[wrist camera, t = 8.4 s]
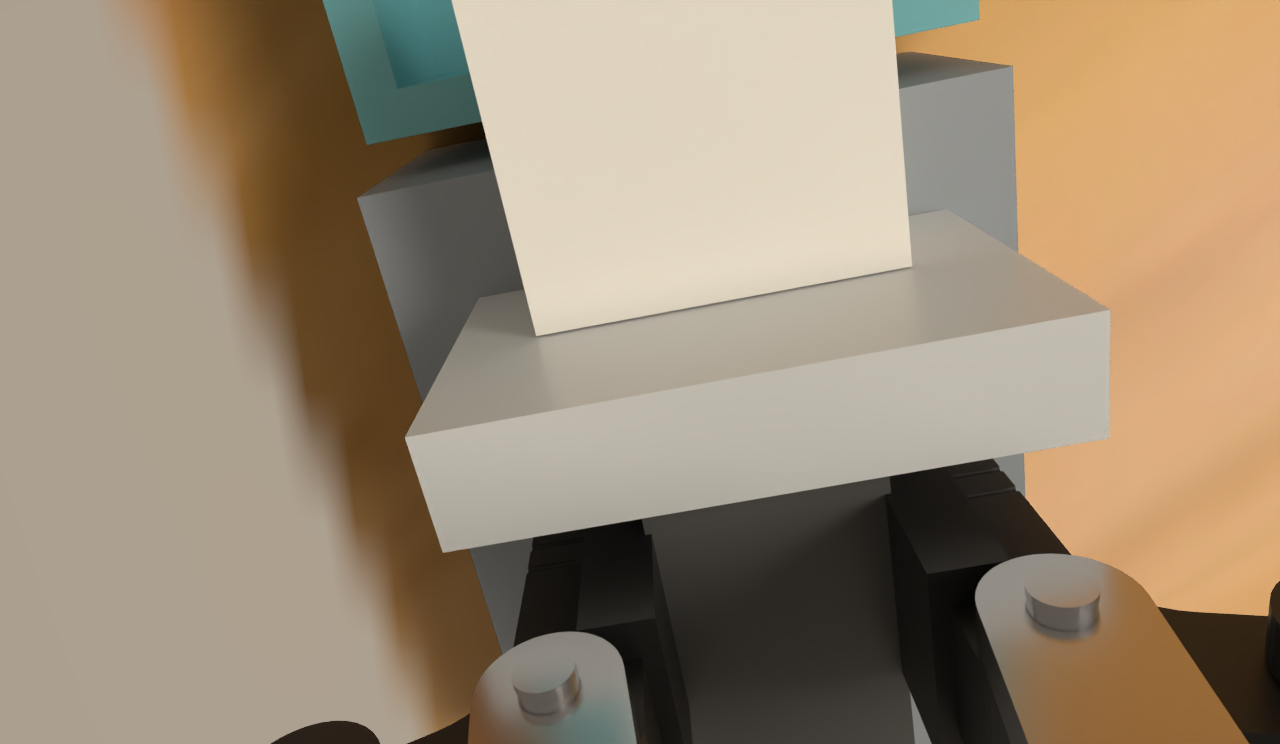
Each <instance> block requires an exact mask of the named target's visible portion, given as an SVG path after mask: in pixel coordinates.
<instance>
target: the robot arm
mask: <svg viewBox="0 0 1280 744" xmlns="http://www.w3.org/2000/svg"><path fill="white" fill-rule="evenodd" d="M890 487H891V493H890V494H885V499H886V510H887V520H888V530H889V540H890V551H891V561H892V571H893V581H894V592H895V602H896V612H897V622H898V633H899V643H900V653H901V664H902V673H903V675H904V678H905V680H906V683H907V685H908V688H909V690H910V692H911V695H912V697H913V700H914V702H915V705H916V707H917V709H918V712H919V714H920V717H921V719H922V722H923V724H924V726H925V729H926V731H927V734H928V736H929V739H930V741H931V743H932V744H1280V581H1279V582H1278V583H1277V584H1276V585H1275V587H1274V589H1273V590H1272V592H1271V597H1270V605H1269V614H1268V616H1254V615H1236V614H1219V613H1201V612H1189V611H1178V610H1172V609H1167V608H1161V607H1157V606H1156V604H1155V603H1154V601H1153V600H1152V598H1151V597H1150V595H1149V594H1148V593H1147V592H1146V591H1145V589H1144V588H1143V587H1142V586H1141V585H1140V584H1139V583H1138V582H1136V581H1135V580H1134V579H1133V578H1131V577H1130V576H1128V575H1127V574H1125V573H1124V572H1122V571H1120V570H1118V569H1116V568H1114V567H1112V566H1110V565H1107V564H1104V563H1102V562H1099V561H1096V560H1092V559H1088V558H1084V557H1080V556H1073V555H1071V554H1070V553H1069V551H1068V550H1067V549H1066V548H1065V547H1064V545H1063V544H1062V543H1061V542H1060V540H1059V539H1058V538H1057V537H1056V535H1055V534H1054V533H1053V532H1052V531H1051V529H1050V528H1049V527H1048V526H1047V524H1046V523H1045V522H1044V521H1043V519H1042V518H1041V517H1040V516H1039V515H1038V513H1037V512H1036V511H1035V510H1034V508H1033V507H1032V506H1031V505H1030V503H1029V502H1028V501H1027V500H1026V499H1025V497H1024V496H1023V495H1022V494H1021V492H1020V491H1016V488H1015V485H1014V484H1013V483H1012V481H1011V480H1010V479H1009V478H1008V476H1007V475H1006V474H1005V473H1004V471H1000V468H999V465H998V464H997V463H996V462H995V460H994V459H993V458H992V459H986V460H980V461H974V462H969V463H963V464H957V465H951V466H945V467H940V468H934V469H928V470H922V471H916V472H910V473H905V474H899V475H893V476H890ZM271 744H380V742H379V740H378V738H377V737H376V736H375V734H374V733H373V732H372V731H371V730H369V729H368V728H367V727H365V726H363V725H360V724H358V723H354V722H348V721H330V722H322V723H318V724H314V725H310V726H307V727H304V728H301V729H299V730H296V731H294V732H292V733H289V734H287V735H285V736H283V737H281V738H279V739H278V740H276V741H275V742H273V743H271ZM408 744H693V743H692V732H691V720H690V709H689V702H688V698H687V693H686V689H685V684H684V680H683V675H682V671H681V666H680V661H679V657H678V652H677V648H676V643H675V639H674V634H673V630H672V625H671V620H670V616H669V611H668V607H667V602H666V598H665V593H664V588H663V584H662V579H661V575H660V570H659V566H658V561H657V557H656V552H655V547H654V543H653V538H652V534H648V535H645V531H644V527H643V522H642V519H637V520H631V521H625V522H620V523H614V524H608V525H602V526H596V527H591V528H585V529H579V530H573V531H567V532H562V533H556V534H550V535H544V536H538V537H533V542H532V551H531V553H530V558H529V564H528V573H527V575H526V580H525V586H524V591H523V597H522V602H521V608H520V613H519V618H518V624H517V629H516V635H515V640H514V646H513V648H512V649H510V650H509V651H507V652H506V653H504V654H503V655H502V656H500V657H499V658H498V659H497V660H496V661H494V662H493V663H492V664H491V665H490V666H489V667H488V669H487V670H486V671H485V672H484V673H483V674H482V676H481V678H480V679H479V681H478V682H477V684H476V687H475V689H474V691H473V694H472V700H471V708H470V713H469V714H468V715H467V716H465V717H464V718H462V719H460V720H459V721H457V722H455V723H453V724H452V725H450V726H448V727H445V728H443V729H441V730H439V731H437V732H434V733H432V734H430V735H427V736H425V737H422V738H420V739H418V740H415V741H413V742H410V743H408Z"/></svg>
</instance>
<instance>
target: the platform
mask: <svg viewBox="0 0 1280 744" xmlns="http://www.w3.org/2000/svg"><path fill="white" fill-rule="evenodd" d="M896 58H897V71H898V85H899V98H900V111H901V125H902V138H903V151H904V165H905V178H906V191H907V205H908V216H912V215H917V214H922V213H928V212H933V211H938V210H943V209H948V210H949V211H951V212H953V213H954V214H956V215H958V216H959V217H961V218H962V219H964V220H966V221H967V222H969V223H970V224H972V225H974V226H975V227H977V228H979V229H980V230H982V231H983V232H985V233H987V234H988V235H990V236H992V237H993V238H995V239H996V240H998V241H1000V242H1001V243H1003V244H1005V245H1006V246H1008V247H1009V248H1011V249H1013V250H1014V251H1016V252H1018V230H1017V195H1016V160H1015V125H1014V90H1013V66H1009V65H1001V64H994V63H987V62H980V61H973V60H966V59H959V58H952V57H944V56H937V55H930V54H923V53H916V52H907V53H902V54H898V55H896ZM357 200H358V203H359V206H360V209H361V212H362V215H363V219H364V222H365V225H366V228H367V231H368V234H369V237H370V241H371V244H372V247H373V250H374V253H375V256H376V259H377V262H378V266H379V269H380V272H381V275H382V278H383V281H384V284H385V288H386V291H387V294H388V297H389V300H390V303H391V306H392V310H393V313H394V316H395V319H396V322H397V325H398V328H399V331H400V335H401V338H402V341H403V344H404V347H405V350H406V353H407V357H408V360H409V363H410V366H411V369H412V372H413V375H414V379H415V382H416V385H417V388H418V391H419V394H420V397H421V400H422V404H423V402H424V400H425V399H426V397H427V395H428V393H429V391H430V389H431V387H432V385H433V384H434V382H435V380H436V378H437V376H438V374H439V372H440V370H441V368H442V367H443V365H444V363H445V361H446V359H447V357H448V355H449V353H450V352H451V350H452V348H453V346H454V344H455V342H456V340H457V338H458V337H459V335H460V333H461V331H462V329H463V327H464V325H465V323H466V321H467V320H468V318H469V316H470V314H471V312H472V310H473V308H474V306H475V305H476V303H477V301H478V299H479V298H481V297H487V296H492V295H497V294H502V293H508V292H513V291H518V290H523V289H524V286H523V282H522V278H521V274H520V270H519V266H518V262H517V258H516V254H515V250H514V246H513V242H512V238H511V234H510V230H509V226H508V222H507V218H506V214H505V210H504V206H503V202H502V198H501V194H500V191H499V187H498V183H497V179H496V175H495V171H494V167H493V163H492V159H491V155H490V151H489V147H488V143H487V139H486V138H484V139H479V140H475V141H470V142H465V143H460V144H455V145H450V146H445V147H440V148H435V149H430V150H426V151H425V152H423V153H422V154H420V155H419V156H417V157H416V158H415V159H413V160H412V161H410V162H409V163H407V164H406V165H404V166H403V167H401V168H400V169H398V170H397V171H396V172H394V173H393V174H391V175H390V176H388V177H387V178H385V179H384V180H382V181H381V182H379V183H378V184H376V185H375V186H374V187H372V188H371V189H369V190H368V191H366V192H365V193H363V194H362V195H360V196H359V197H357ZM993 459H994V460H995V462H996V463H997V464H998V465H999V468H1000V471H1004V473H1005V474H1006V475H1007V476H1008V478H1009V479H1010V480H1011V481H1012V483H1013V484H1014V485H1015V488H1016V491H1020V492H1021V494H1022V495H1023V496H1024V497H1025V474H1024V453H1021V454H1015V455H1009V456H1004V457H998V458H993ZM532 542H533V537H532V538H527V539H521V540H515V541H509V542H503V543H498V544H492V545H486V546H480V547H474V548H469V551H470V554H471V557H472V560H473V564H474V567H475V570H476V573H477V576H478V579H479V582H480V586H481V589H482V592H483V595H484V598H485V601H486V604H487V608H488V611H489V614H490V617H491V620H492V623H493V626H494V629H495V633H496V636H497V639H498V642H499V645H500V648H501V651H502V655H503V654H504V653H506V652H507V651H509V650H510V649H512V648H513V646H514V640H515V635H516V629H517V624H518V618H519V613H520V608H521V602H522V597H523V591H524V586H525V580H526V575H527V573H528V564H529V558H530V553H531V551H532ZM910 696H911V706H912V717H913V727H914V738H915V744H932V743H931V741H930V739H929V736H928V734H927V731H926V729H925V726H924V724H923V722H922V719H921V717H920V714H919V712H918V709H917V707H916V705H915V702H914V700H913V697H912V695H911V692H910Z"/></svg>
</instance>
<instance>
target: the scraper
mask: <svg viewBox="0 0 1280 744" xmlns="http://www.w3.org/2000/svg"><path fill="white" fill-rule="evenodd" d="M908 218H909V231H910V245H911V258H912V267H906V268H901V269H895V270H890V271H885V272H879V273H874V274H868V275H863V276H858V277H852V278H847V279H842V280H836V281H831V282H825V283H820V284H815V285H809V286H804V287H798V288H793V289H788V290H782V291H777V292H772V293H766V294H761V295H755V296H750V297H745V298H739V299H734V300H729V301H723V302H718V303H712V304H707V305H702V306H696V307H691V308H685V309H680V310H675V311H669V312H664V313H659V314H653V315H648V316H642V317H637V318H632V319H626V320H621V321H615V322H610V323H605V324H599V325H594V326H589V327H583V328H578V329H572V330H567V331H562V332H556V333H551V334H545V335H540V336H536V333H535V329H534V325H533V321H532V317H531V313H530V309H529V305H528V301H527V297H526V294H525V290H524V289H523V290H518V291H513V292H508V293H502V294H497V295H492V296H487V297H481V298H479V299H478V301H477V303H476V305H475V306H474V308H473V310H472V312H471V314H470V316H469V318H468V320H467V321H466V323H465V325H464V327H463V329H462V331H461V333H460V335H459V337H458V338H457V340H456V342H455V344H454V346H453V348H452V350H451V352H450V353H449V355H448V357H447V359H446V361H445V363H444V365H443V367H442V368H441V370H440V372H439V374H438V376H437V378H436V380H435V382H434V384H433V385H432V387H431V389H430V391H429V393H428V395H427V397H426V399H425V400H424V402H423V404H422V406H421V408H420V410H419V412H418V414H417V415H416V417H415V419H414V421H413V423H412V425H411V427H410V429H409V431H408V432H407V434H406V436H405V440H406V443H407V446H408V449H409V452H410V455H411V458H412V461H413V464H414V467H415V470H416V473H417V476H418V479H419V482H420V485H421V488H422V491H423V494H424V497H425V500H426V503H427V506H428V509H429V512H430V515H431V518H432V522H433V525H434V528H435V531H436V534H437V537H438V540H439V543H440V546H441V549H442V552H443V553H445V552H451V551H457V550H463V549H468V548H474V547H480V546H486V545H492V544H498V543H503V542H509V541H515V540H521V539H527V538H532V537H538V536H544V535H550V534H556V533H562V532H567V531H573V530H579V529H585V528H591V527H596V526H602V525H608V524H614V523H620V522H625V521H631V520H637V519H642V522H643V527H644V531H645V535H648V534H652V538H653V543H654V547H655V552H656V557H657V561H658V566H659V570H660V575H661V579H662V584H663V588H664V593H665V598H666V602H667V607H668V611H669V616H670V620H671V625H672V630H673V634H674V639H675V643H676V648H677V652H678V657H679V661H680V666H681V671H682V675H683V680H684V684H685V689H686V693H687V698H688V702H689V709H690V720H691V732H692V743H693V744H915V738H914V727H913V717H912V706H911V696H910V690H909V688H908V685H907V683H906V680H905V678H904V675H903V673H902V664H901V653H900V643H899V633H898V622H897V612H896V602H895V592H894V581H893V571H892V561H891V551H890V540H889V530H888V520H887V510H886V499H885V494H890V493H891V487H890V476H893V475H899V474H905V473H910V472H916V471H922V470H928V469H934V468H940V467H945V466H951V465H957V464H963V463H969V462H974V461H980V460H986V459H992V458H998V457H1004V456H1009V455H1015V454H1021V453H1027V452H1033V451H1038V450H1044V449H1050V448H1056V447H1062V446H1068V445H1073V444H1079V443H1085V442H1091V441H1097V440H1102V439H1108V438H1109V385H1110V311H1111V310H1110V309H1108V308H1107V307H1105V306H1103V305H1102V304H1100V303H1099V302H1097V301H1095V300H1094V299H1092V298H1091V297H1089V296H1087V295H1086V294H1084V293H1082V292H1081V291H1079V290H1078V289H1076V288H1074V287H1073V286H1071V285H1069V284H1068V283H1066V282H1065V281H1063V280H1061V279H1060V278H1058V277H1056V276H1055V275H1053V274H1052V273H1050V272H1048V271H1047V270H1045V269H1043V268H1042V267H1040V266H1039V265H1037V264H1035V263H1034V262H1032V261H1031V260H1029V259H1027V258H1026V257H1024V256H1022V255H1021V254H1019V253H1018V252H1016V251H1014V250H1013V249H1011V248H1009V247H1008V246H1006V245H1005V244H1003V243H1001V242H1000V241H998V240H996V239H995V238H993V237H992V236H990V235H988V234H987V233H985V232H983V231H982V230H980V229H979V228H977V227H975V226H974V225H972V224H970V223H969V222H967V221H966V220H964V219H962V218H961V217H959V216H958V215H956V214H954V213H953V212H951V211H949V210H948V209H943V210H938V211H933V212H928V213H922V214H917V215H912V216H908Z"/></svg>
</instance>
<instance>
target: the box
mask: <svg viewBox="0 0 1280 744" xmlns="http://www.w3.org/2000/svg"><path fill="white" fill-rule="evenodd" d="M323 4H324V7H325V10H326V13H327V17H328V20H329V23H330V27H331V30H332V33H333V36H334V40H335V43H336V46H337V49H338V53H339V56H340V59H341V62H342V66H343V69H344V72H345V75H346V79H347V82H348V85H349V88H350V92H351V95H352V98H353V101H354V105H355V108H356V111H357V114H358V118H359V121H360V124H361V127H362V131H363V134H364V137H365V140H366V144H367V145H370V144H375V143H380V142H384V141H389V140H394V139H399V138H404V137H409V136H414V135H419V134H424V133H428V132H433V131H438V130H443V129H448V128H453V127H458V126H463V125H467V124H472V123H477V122H482V119H481V115H480V111H479V107H478V103H477V99H476V95H475V91H474V87H473V84H472V80H471V76H470V72H469V68H468V64H467V60H466V56H465V52H464V48H463V44H462V40H461V36H460V32H459V28H458V24H457V20H456V16H455V12H454V8H453V4H452V0H323ZM892 5H893V18H894V31H895V37H898V36H902V35H907V34H912V33H917V32H922V31H927V30H932V29H937V28H942V27H946V26H951V25H956V24H961V23H966V22H971V21H976V20H979V0H892Z"/></svg>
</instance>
